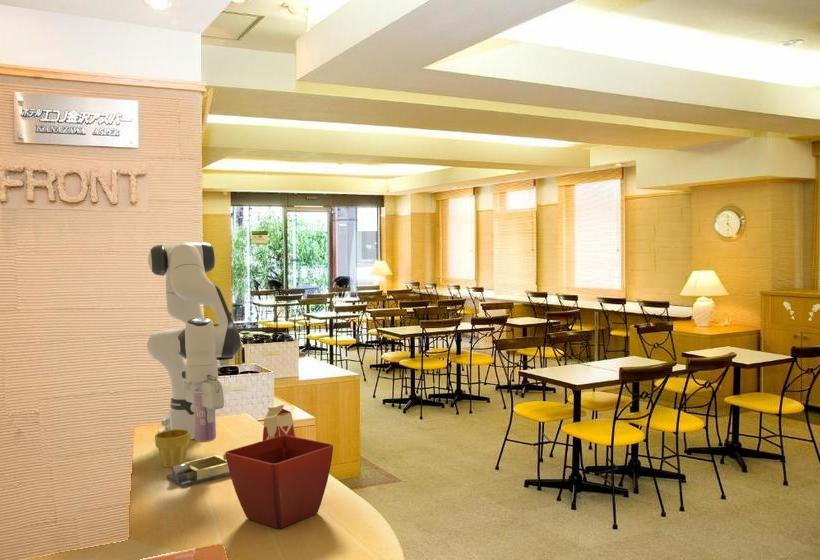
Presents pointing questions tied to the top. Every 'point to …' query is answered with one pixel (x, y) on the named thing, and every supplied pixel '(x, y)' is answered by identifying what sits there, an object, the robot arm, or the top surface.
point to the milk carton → (278, 423)
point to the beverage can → (202, 421)
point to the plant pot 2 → (280, 478)
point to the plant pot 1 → (172, 446)
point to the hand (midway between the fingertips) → (205, 420)
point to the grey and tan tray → (199, 470)
